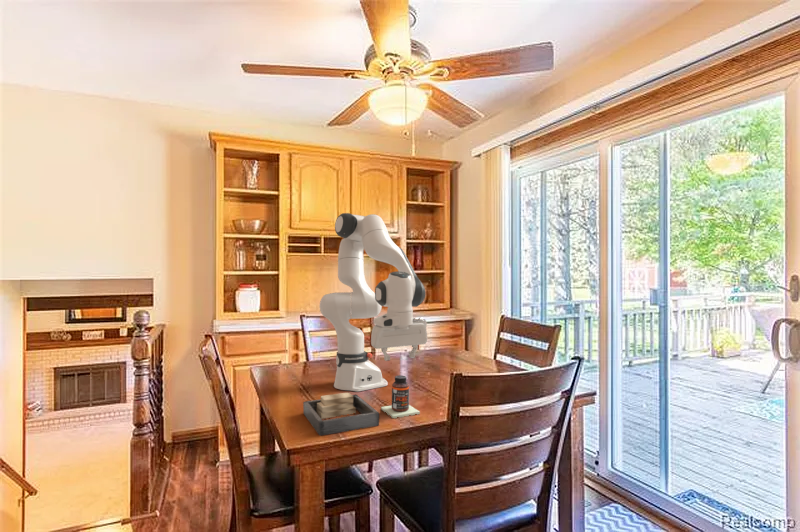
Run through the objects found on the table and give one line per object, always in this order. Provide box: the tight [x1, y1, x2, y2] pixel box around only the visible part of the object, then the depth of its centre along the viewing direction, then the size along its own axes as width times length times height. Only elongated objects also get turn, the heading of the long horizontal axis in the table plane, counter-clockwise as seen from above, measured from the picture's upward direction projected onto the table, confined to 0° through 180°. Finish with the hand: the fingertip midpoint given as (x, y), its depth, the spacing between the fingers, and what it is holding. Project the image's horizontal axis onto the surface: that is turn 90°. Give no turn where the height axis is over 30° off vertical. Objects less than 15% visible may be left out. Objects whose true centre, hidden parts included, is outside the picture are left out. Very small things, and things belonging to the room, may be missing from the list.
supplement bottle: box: [391, 375, 410, 412], centre depth 147 cm, size 6×6×11 cm
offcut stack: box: [316, 392, 357, 420], centre depth 145 cm, size 12×6×6 cm, turn 117°
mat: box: [380, 404, 421, 419], centre depth 147 cm, size 10×10×1 cm
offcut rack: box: [302, 394, 380, 437], centre depth 140 cm, size 19×21×4 cm
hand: (399, 359), depth 147 cm, fingers open, 8 cm apart
